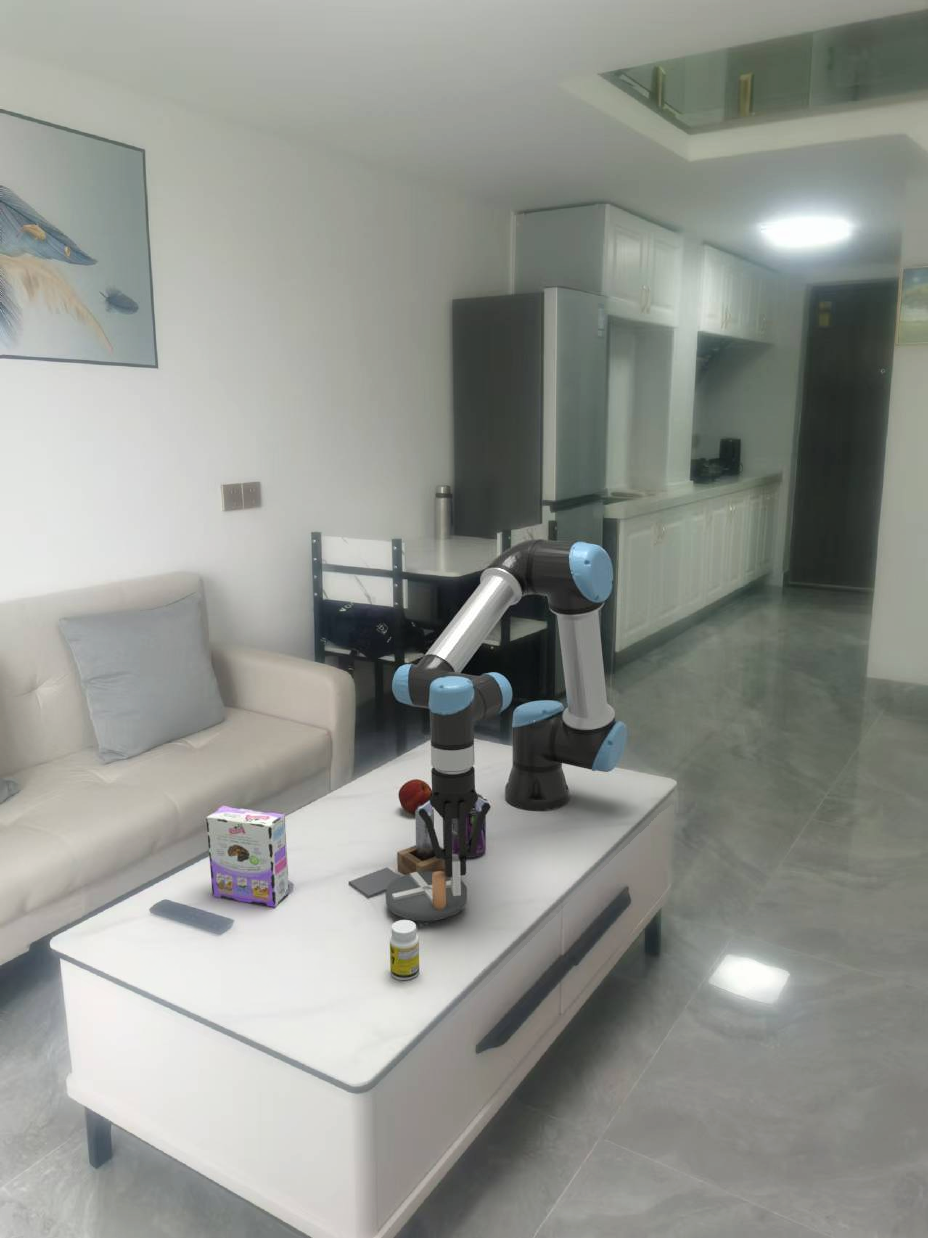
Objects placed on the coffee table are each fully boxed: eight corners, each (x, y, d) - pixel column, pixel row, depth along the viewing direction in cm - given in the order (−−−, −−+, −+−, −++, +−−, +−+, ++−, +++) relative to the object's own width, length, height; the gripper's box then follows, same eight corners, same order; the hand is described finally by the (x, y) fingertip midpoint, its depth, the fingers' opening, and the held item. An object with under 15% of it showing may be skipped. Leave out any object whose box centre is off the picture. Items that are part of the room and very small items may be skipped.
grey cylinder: (427, 865, 187) (426, 805, 184) (438, 872, 184) (437, 811, 181) (412, 871, 184) (411, 810, 182) (423, 878, 182) (422, 816, 179)
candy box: (290, 893, 176) (286, 813, 173) (274, 909, 171) (270, 826, 167) (228, 882, 181) (222, 803, 177) (210, 897, 175) (204, 816, 172)
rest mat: (387, 870, 185) (386, 867, 185) (407, 883, 180) (407, 880, 179) (348, 884, 179) (348, 881, 179) (368, 898, 174) (368, 895, 174)
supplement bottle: (390, 964, 153) (389, 918, 151) (418, 963, 154) (418, 917, 152) (390, 982, 148) (389, 934, 147) (420, 980, 149) (419, 933, 147)
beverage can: (482, 861, 188) (482, 806, 186) (448, 858, 190) (447, 804, 187) (488, 846, 195) (488, 792, 192) (455, 843, 196) (455, 790, 194)
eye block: (429, 858, 190) (429, 840, 189) (453, 873, 184) (453, 854, 183) (397, 870, 185) (397, 852, 184) (421, 885, 179) (421, 866, 178)
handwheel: (447, 872, 180) (446, 835, 178) (480, 909, 167) (480, 869, 165) (374, 889, 174) (373, 851, 172) (403, 928, 161) (402, 887, 159)
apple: (419, 822, 206) (419, 788, 205) (391, 814, 210) (390, 781, 209) (438, 810, 213) (437, 777, 211) (410, 803, 217) (409, 771, 215)
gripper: (485, 756, 164) (487, 878, 169) (413, 762, 162) (417, 885, 167) (493, 771, 157) (495, 898, 162) (418, 777, 155) (422, 906, 160)
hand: (455, 891), depth 165 cm, fingers closed
